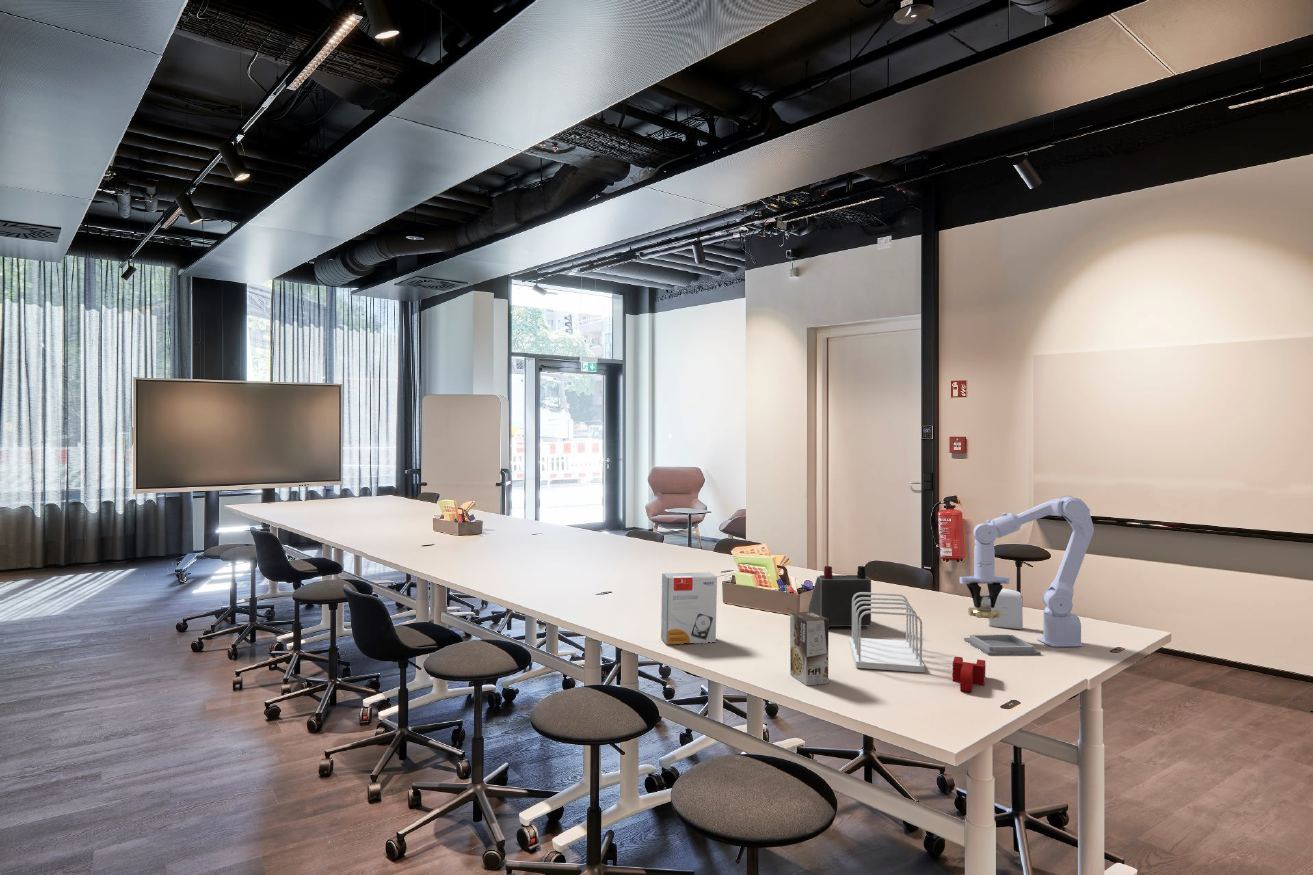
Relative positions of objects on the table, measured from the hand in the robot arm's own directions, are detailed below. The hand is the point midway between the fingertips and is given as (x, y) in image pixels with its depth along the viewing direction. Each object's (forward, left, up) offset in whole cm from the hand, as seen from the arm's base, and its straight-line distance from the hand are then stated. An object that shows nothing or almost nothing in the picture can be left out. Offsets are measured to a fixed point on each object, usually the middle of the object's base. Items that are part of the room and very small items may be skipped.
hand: (984, 607), depth 223 cm
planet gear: (0, 0, -2) cm, 2 cm away
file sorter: (+38, +19, -10) cm, 43 cm away
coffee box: (+63, +37, -10) cm, 74 cm away
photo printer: (-13, -13, -10) cm, 20 cm away
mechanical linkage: (+24, +41, -10) cm, 49 cm away
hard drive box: (+91, +2, -10) cm, 92 cm away
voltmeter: (+40, -18, -10) cm, 45 cm away
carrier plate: (0, +10, -9) cm, 14 cm away
